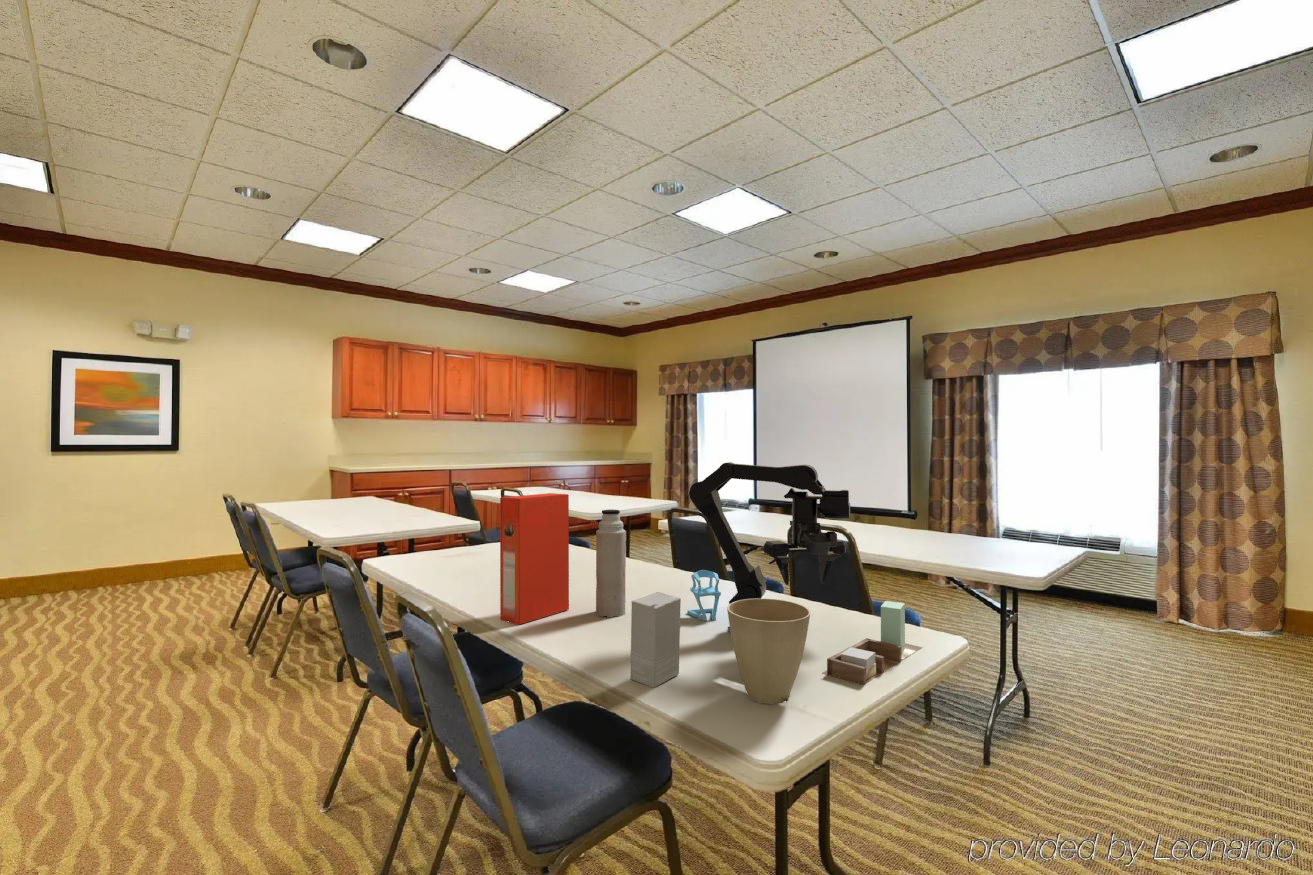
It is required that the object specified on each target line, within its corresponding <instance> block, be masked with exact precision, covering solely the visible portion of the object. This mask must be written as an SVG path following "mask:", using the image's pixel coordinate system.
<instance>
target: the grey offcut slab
mask: <svg viewBox="0 0 1313 875" xmlns="http://www.w3.org/2000/svg"><path fill="white" fill-rule="evenodd" d="M849 647H850V648H849ZM849 647H848V648H849V649H847V648H846V649H847V650H846V651H844V652H843V653H842V654H841V661H845V662H848V663H852V664H856V665H859V666H863V667H866V670H867V669H869V668H870V667H871V666H872V665H873V664H874V663H875V652H870V651H866V650H861V649H856V648H852V647H851V646H849Z"/></svg>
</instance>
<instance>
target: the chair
mask: <svg viewBox="0 0 1313 875" xmlns="http://www.w3.org/2000/svg"><path fill="white" fill-rule="evenodd" d="M700 578H709V582H708V583H709V584H708V586H703V587H702V584H701V579H700ZM713 578H714V580H715V582H716V583H715V585H714V586H713ZM691 579H692V584H693V585H692V587H690V589H689V590H690V593H692V594H693V596H694V597H695V600H696V602H697V606H698V609H697V608H696V609H687V614H688V615H689V616H692V617H695V618H696V619H699V620H701V621H703V622H707V620H708V619H707V614H706V613H711V621H714V622H715V621H717V612H718V606H719V600H720V597H721V595H722V592H721V591H720V590H719V583H720V578H719V575H718V573H716V572H714V571H710V570H706V569H700V570H697V571H696V572H694V573H692V574H691ZM697 586H698V587H697ZM708 596H714V602H713V608H711V607H710V608H704V607H703V605H702V602H701V598H702V597H703V598H704V597H708Z"/></svg>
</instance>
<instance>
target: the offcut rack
mask: <svg viewBox="0 0 1313 875" xmlns="http://www.w3.org/2000/svg"><path fill="white" fill-rule="evenodd" d="M850 647H852V648H856V649H861V650H866V651H870V652H875V663H876V674H875V675H873V676H872V677H870V678H868V679H867V680H866V667H863V666H859V665H856V664H852V663H848V662H845V661H841V654H842V653H843V652H844V651H846V650H847V649H849V648H850ZM921 649H924V648H923V646H919V645H915V644H909V643H906V642H905V650H904V651H903V653H902V646H898V645H893V644H889V643H885V642H881V640H877V639H876V640H875V639H873V638H872V639H871V638H864V639H862V640H861V641H859V642H857V643H855V644H853V645H851V646H848V647H847V648H845V649H843V650H841V651H840V652H837V653H836V654H834V655H832V656H830V657H828V658H827V659H826V670H825V671H823V672H822V673H821V674H823V675H826V676H830V677H833V678H836V679H839V680H844V681H847V682H849V683H853V684H857V685H861V686H864V685H866V684H867V683H869V682H871V681H872V680H874V679H876V678H877V677H879V676H880V675H882V674H883V673H886V672H887V671H889V670H890V669H892V668H893V667H895V666H896V665H897V664H899V663H901V662H902V661H904V660H906V659H908V657H910V656H912V655H913V654H915V653H916V652H918V651H920V650H921Z"/></svg>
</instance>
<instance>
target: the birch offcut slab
mask: <svg viewBox="0 0 1313 875" xmlns="http://www.w3.org/2000/svg"><path fill="white" fill-rule="evenodd" d="M875 674H876V663H874V664H873V665H872V666H871V667H870V668H869V669H867V670H866V680H867V679H868V678H870V677H872V676H873V675H875Z"/></svg>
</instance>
